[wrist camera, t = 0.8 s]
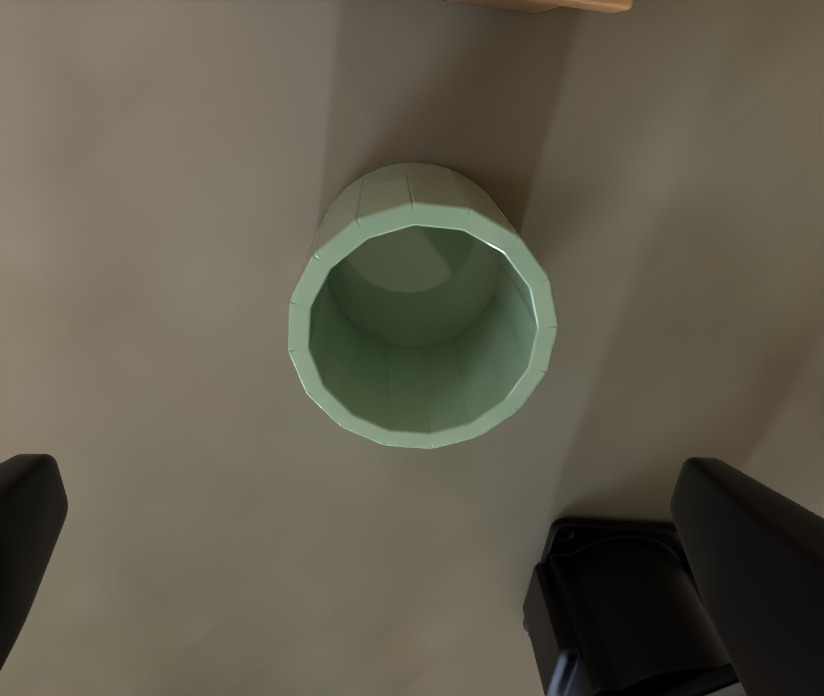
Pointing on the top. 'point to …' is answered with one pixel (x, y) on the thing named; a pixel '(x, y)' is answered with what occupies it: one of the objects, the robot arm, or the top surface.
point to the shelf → (552, 4)
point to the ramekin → (419, 310)
